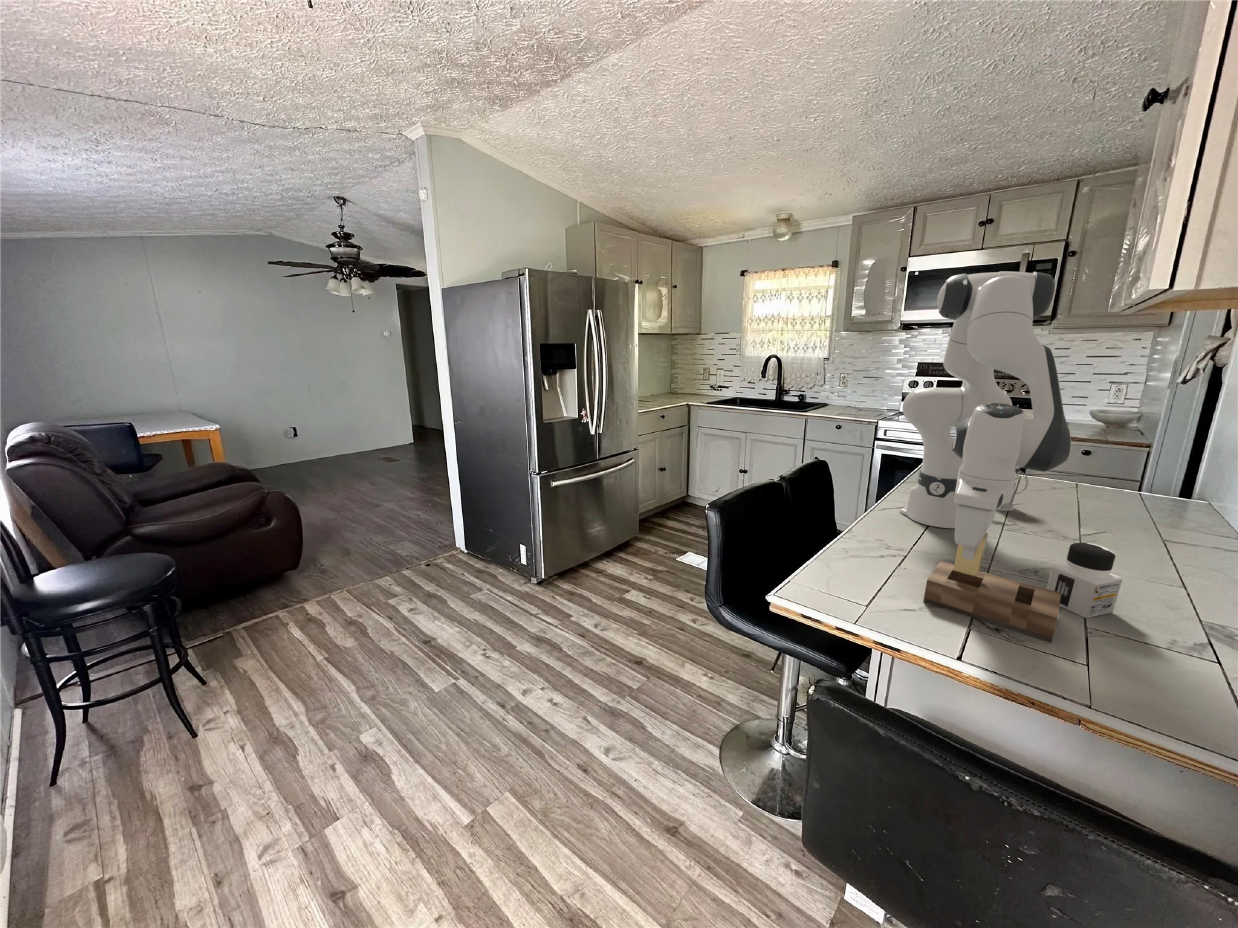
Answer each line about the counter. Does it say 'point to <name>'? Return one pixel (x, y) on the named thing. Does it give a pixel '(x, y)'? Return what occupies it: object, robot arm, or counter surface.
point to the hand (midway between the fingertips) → (970, 553)
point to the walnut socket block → (995, 600)
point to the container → (1086, 580)
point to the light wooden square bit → (970, 565)
